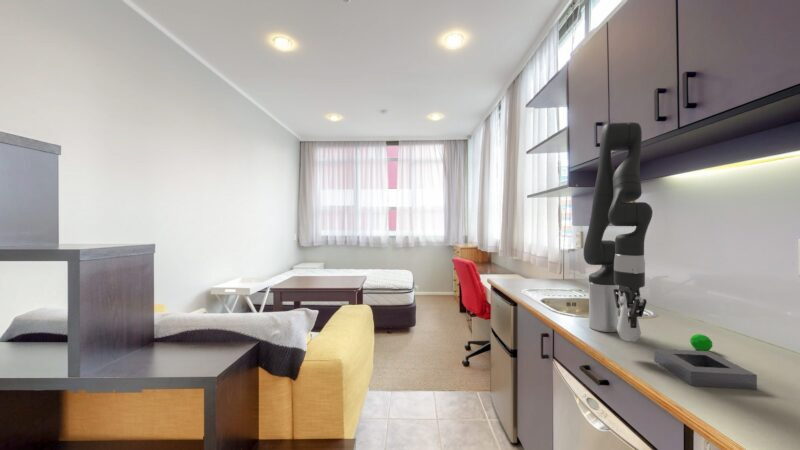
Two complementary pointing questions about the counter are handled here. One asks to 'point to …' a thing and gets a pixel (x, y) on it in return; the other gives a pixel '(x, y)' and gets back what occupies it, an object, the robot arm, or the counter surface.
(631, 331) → the salt shaker
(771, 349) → the counter surface
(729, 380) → the collar
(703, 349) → the polyhedron
